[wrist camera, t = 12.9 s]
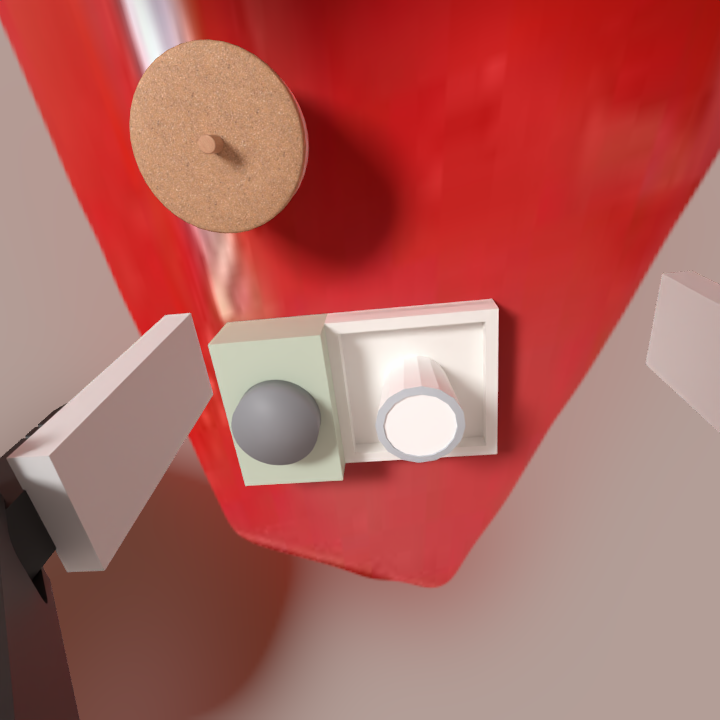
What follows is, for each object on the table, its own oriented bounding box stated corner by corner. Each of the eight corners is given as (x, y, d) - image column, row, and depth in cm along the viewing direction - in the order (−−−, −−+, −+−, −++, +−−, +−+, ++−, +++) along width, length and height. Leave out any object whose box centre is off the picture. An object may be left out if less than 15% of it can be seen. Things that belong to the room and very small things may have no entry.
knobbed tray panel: (227, 322, 42) (198, 355, 36) (492, 298, 40) (512, 329, 34) (258, 452, 48) (239, 500, 42) (491, 438, 46) (508, 486, 40)
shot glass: (377, 416, 44) (375, 462, 38) (376, 348, 41) (374, 386, 35) (451, 417, 44) (462, 464, 38) (456, 348, 41) (469, 387, 35)
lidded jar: (240, 242, 39) (199, 271, 31) (149, 120, 36) (74, 115, 27) (348, 164, 36) (336, 172, 28) (260, 23, 33) (216, -17, 24)
